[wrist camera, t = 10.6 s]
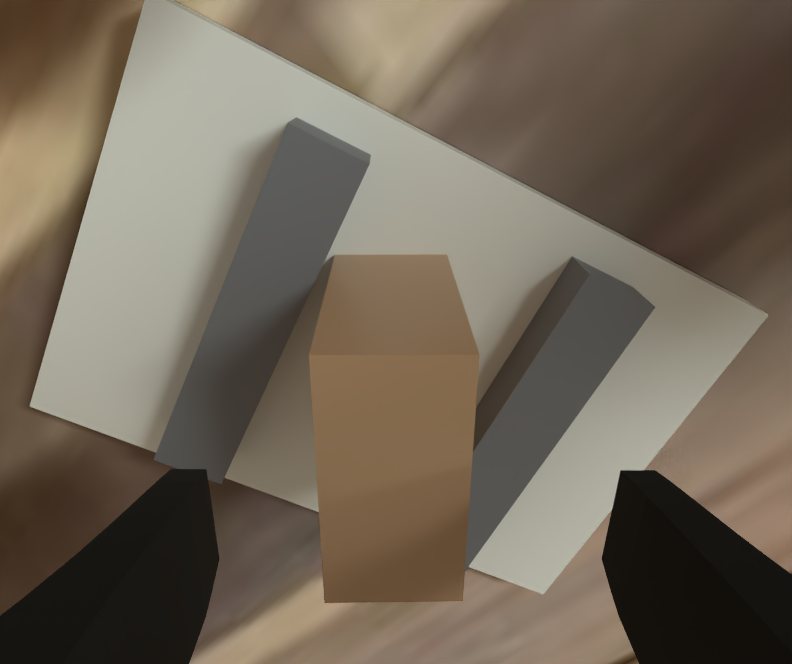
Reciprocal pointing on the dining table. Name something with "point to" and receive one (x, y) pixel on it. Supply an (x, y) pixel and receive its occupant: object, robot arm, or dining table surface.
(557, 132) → the dining table surface
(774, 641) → the robot arm
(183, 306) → the board
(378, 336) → the tan wooden block
